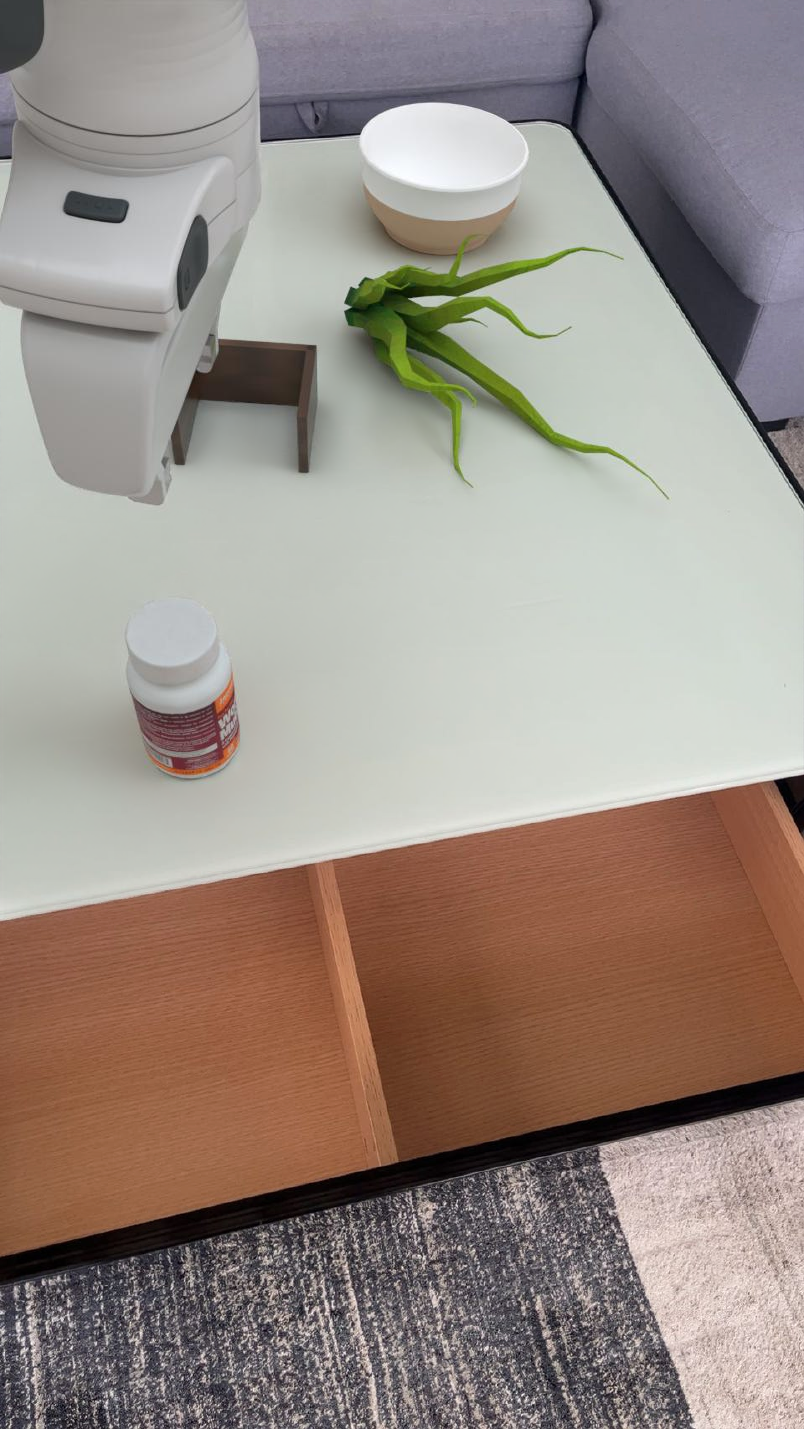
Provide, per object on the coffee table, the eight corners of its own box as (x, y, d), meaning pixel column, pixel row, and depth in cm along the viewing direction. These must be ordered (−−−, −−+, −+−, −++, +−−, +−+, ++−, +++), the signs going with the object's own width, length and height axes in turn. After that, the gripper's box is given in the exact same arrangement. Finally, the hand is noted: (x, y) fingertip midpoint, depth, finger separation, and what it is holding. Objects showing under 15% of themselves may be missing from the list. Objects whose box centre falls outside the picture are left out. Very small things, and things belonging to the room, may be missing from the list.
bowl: (497, 285, 100) (508, 204, 94) (335, 250, 102) (335, 168, 96) (532, 199, 109) (545, 120, 103) (383, 169, 111) (386, 89, 105)
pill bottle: (247, 773, 68) (233, 665, 59) (149, 789, 67) (120, 681, 58) (234, 696, 71) (219, 582, 62) (141, 710, 70) (111, 597, 61)
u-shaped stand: (174, 464, 84) (165, 408, 79) (191, 392, 89) (183, 336, 84) (308, 472, 84) (307, 417, 80) (317, 401, 89) (316, 345, 85)
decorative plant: (448, 562, 80) (469, 403, 67) (337, 326, 95) (338, 162, 83) (663, 517, 84) (719, 359, 71) (522, 297, 99) (548, 137, 87)
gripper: (138, 8, 46) (167, 285, 58) (-31, 295, 35) (46, 567, 47) (280, 32, 46) (281, 305, 58) (156, 327, 35) (188, 591, 47)
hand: (175, 424), depth 52 cm, fingers open, 8 cm apart
